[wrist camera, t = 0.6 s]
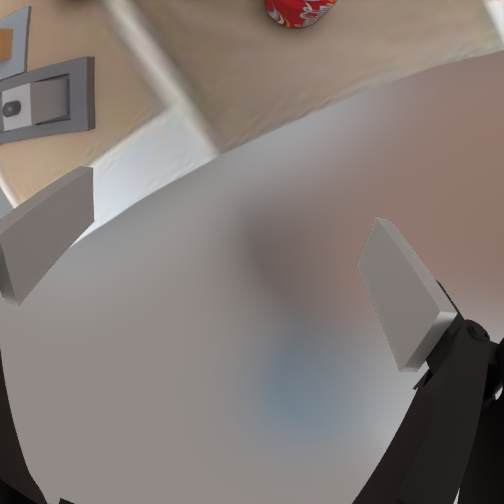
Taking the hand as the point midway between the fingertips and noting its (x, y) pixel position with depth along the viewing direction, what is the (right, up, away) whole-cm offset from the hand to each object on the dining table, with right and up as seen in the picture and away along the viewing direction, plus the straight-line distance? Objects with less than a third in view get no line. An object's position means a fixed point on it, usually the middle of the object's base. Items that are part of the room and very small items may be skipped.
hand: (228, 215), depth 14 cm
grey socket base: (-32, +20, +20) cm, 42 cm away
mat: (-37, +30, +14) cm, 50 cm away
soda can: (+6, +28, +15) cm, 32 cm away
